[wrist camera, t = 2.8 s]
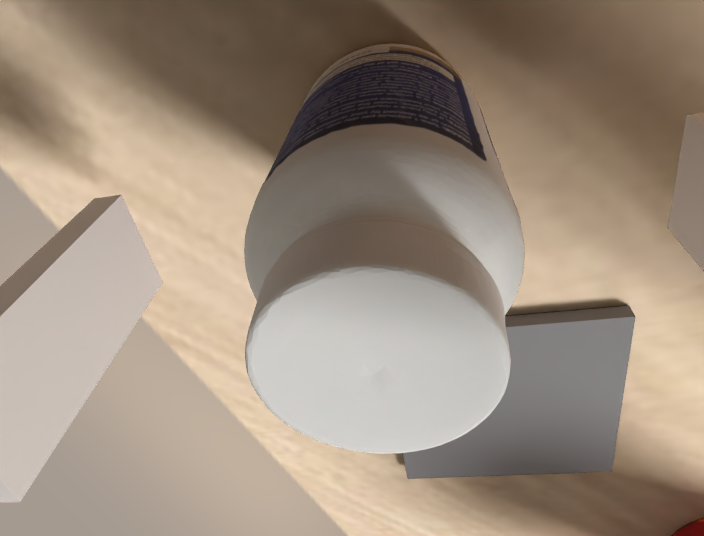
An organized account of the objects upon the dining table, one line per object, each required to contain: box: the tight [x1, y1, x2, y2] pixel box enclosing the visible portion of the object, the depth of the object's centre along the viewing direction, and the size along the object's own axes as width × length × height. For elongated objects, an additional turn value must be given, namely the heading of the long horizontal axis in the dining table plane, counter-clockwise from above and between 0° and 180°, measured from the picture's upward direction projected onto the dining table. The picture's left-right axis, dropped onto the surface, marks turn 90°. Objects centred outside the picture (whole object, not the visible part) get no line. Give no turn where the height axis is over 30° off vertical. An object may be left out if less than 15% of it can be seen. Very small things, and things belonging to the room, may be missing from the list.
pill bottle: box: [244, 43, 525, 454], centre depth 12 cm, size 5×5×10 cm
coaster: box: [402, 306, 635, 479], centre depth 22 cm, size 9×9×1 cm
